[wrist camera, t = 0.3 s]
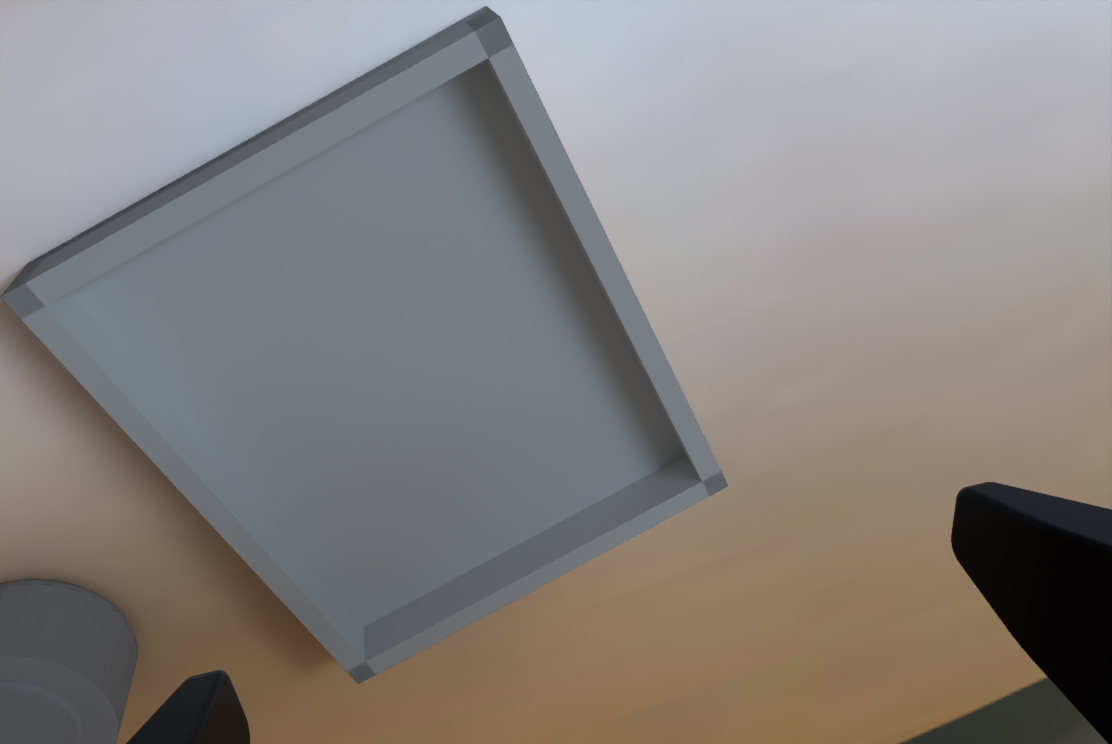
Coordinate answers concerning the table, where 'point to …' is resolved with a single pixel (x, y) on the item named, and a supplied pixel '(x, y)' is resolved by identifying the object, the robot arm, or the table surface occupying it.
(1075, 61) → the table surface
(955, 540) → the robot arm
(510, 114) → the tray
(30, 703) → the bolt
